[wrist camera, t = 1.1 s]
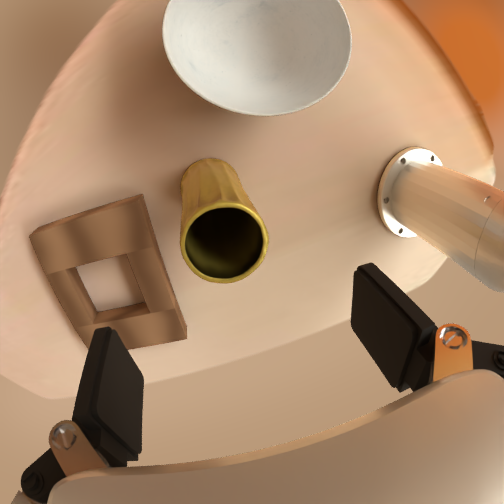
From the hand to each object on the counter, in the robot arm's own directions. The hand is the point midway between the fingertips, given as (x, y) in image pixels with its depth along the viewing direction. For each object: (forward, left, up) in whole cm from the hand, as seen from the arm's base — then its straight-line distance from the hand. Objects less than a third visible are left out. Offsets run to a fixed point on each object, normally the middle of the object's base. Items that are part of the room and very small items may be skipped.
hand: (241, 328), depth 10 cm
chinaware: (-6, -14, -22) cm, 26 cm away
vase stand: (+14, +8, -21) cm, 27 cm away
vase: (0, 0, -22) cm, 22 cm away
